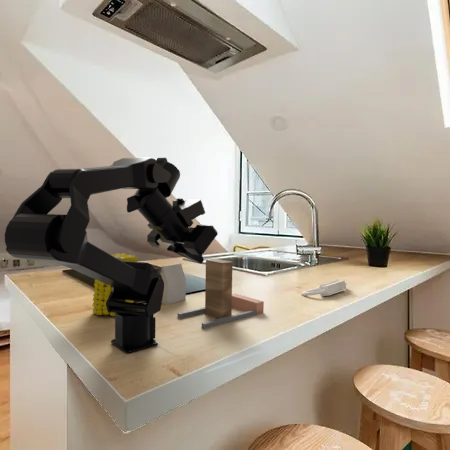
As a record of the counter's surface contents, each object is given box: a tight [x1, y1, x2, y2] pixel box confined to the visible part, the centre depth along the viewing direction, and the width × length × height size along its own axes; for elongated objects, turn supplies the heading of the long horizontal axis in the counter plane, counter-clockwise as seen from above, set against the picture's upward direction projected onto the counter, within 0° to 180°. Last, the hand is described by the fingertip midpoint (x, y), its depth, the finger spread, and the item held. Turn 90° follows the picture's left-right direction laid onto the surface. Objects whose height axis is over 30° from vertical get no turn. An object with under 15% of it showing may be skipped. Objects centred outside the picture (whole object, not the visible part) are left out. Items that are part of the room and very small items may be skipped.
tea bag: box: [159, 263, 187, 306], centre depth 97 cm, size 4×7×10 cm, turn 142°
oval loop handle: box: [300, 279, 348, 298], centre depth 111 cm, size 20×8×4 cm, turn 136°
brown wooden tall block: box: [204, 258, 233, 319], centre depth 84 cm, size 3×6×13 cm, turn 42°
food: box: [92, 252, 139, 317], centre depth 86 cm, size 15×12×10 cm
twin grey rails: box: [177, 293, 265, 330], centre depth 85 cm, size 18×10×3 cm, turn 132°
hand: (201, 261), depth 81 cm, fingers closed
